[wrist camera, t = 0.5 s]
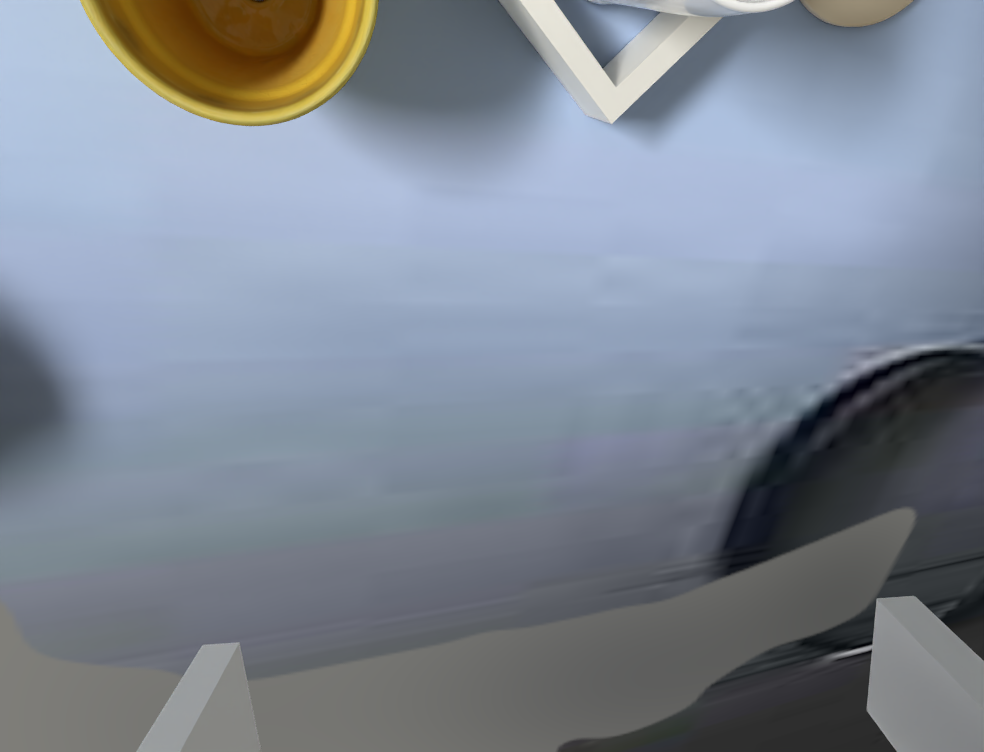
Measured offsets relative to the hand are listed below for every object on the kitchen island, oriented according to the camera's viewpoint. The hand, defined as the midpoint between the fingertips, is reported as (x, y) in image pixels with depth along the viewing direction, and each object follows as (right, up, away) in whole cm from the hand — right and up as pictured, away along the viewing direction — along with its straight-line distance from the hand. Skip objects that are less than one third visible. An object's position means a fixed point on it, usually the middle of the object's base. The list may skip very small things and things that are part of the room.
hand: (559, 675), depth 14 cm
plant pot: (-13, +25, +18) cm, 33 cm away
